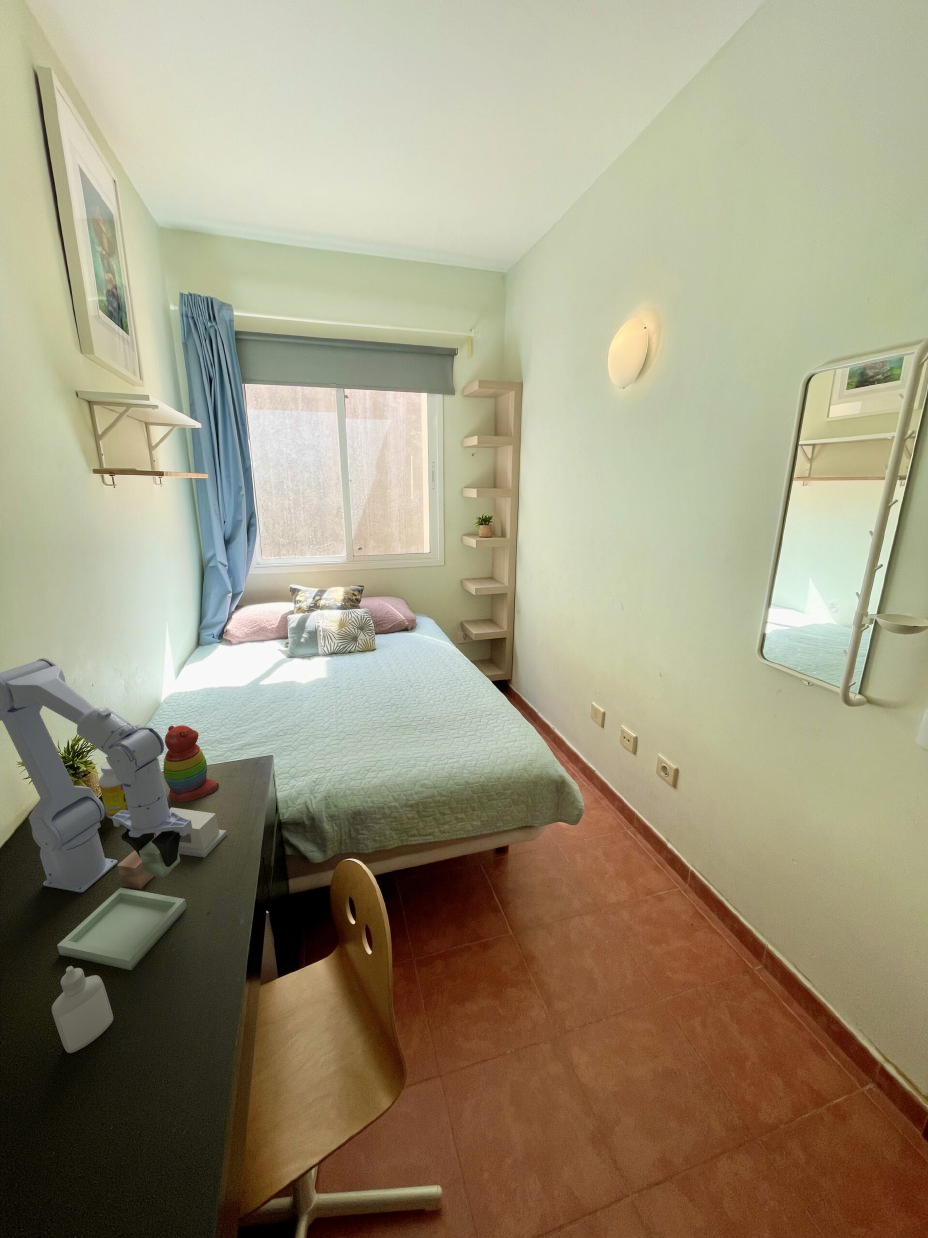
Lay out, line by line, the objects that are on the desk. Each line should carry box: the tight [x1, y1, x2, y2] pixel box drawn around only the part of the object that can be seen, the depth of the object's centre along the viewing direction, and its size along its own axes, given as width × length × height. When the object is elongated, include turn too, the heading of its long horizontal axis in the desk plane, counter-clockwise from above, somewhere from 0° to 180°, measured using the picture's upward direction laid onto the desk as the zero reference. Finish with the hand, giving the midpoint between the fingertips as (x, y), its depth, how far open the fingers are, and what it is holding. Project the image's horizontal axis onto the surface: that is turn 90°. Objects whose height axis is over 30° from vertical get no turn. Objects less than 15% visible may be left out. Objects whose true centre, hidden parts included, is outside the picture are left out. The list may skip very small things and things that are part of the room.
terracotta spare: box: [116, 850, 155, 890], centre depth 95 cm, size 4×4×5 cm
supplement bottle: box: [98, 761, 128, 820], centre depth 114 cm, size 7×7×13 cm
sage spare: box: [139, 839, 181, 878], centre depth 89 cm, size 4×4×5 cm
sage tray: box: [57, 887, 187, 971], centre depth 85 cm, size 14×12×2 cm
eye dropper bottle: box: [51, 965, 114, 1054], centre depth 68 cm, size 4×6×12 cm
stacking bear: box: [162, 724, 220, 803], centre depth 121 cm, size 11×10×18 cm
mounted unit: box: [155, 807, 228, 858], centre depth 105 cm, size 13×7×6 cm, turn 78°
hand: (160, 861), depth 89 cm, fingers closed on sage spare, 4 cm apart
